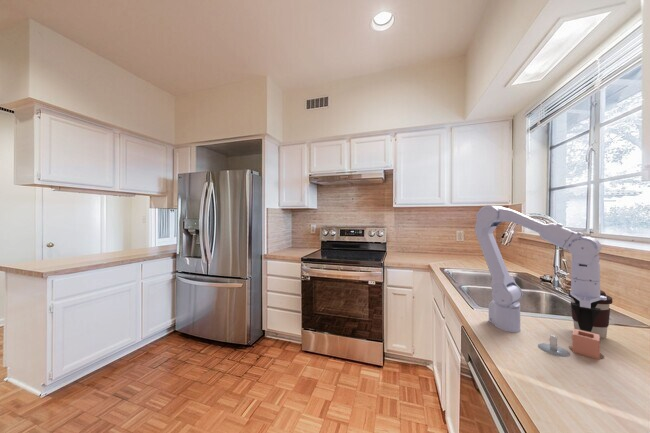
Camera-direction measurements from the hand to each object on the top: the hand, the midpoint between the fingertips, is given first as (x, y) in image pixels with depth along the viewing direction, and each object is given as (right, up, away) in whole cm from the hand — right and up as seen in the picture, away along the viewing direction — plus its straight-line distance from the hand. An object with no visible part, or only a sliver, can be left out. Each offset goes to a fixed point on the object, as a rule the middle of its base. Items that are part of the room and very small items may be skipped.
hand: (585, 325), depth 70 cm
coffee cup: (+13, -8, +11) cm, 19 cm away
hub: (0, -8, 0) cm, 8 cm away
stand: (-8, -8, +1) cm, 12 cm away
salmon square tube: (0, -8, 0) cm, 8 cm away
